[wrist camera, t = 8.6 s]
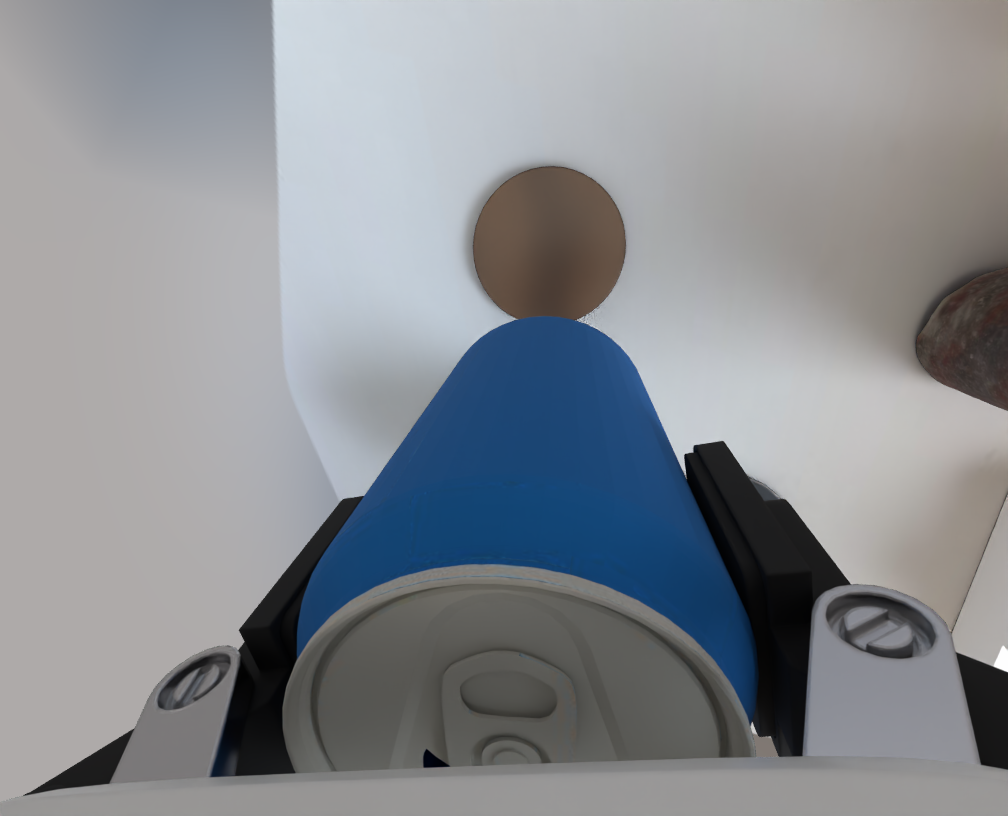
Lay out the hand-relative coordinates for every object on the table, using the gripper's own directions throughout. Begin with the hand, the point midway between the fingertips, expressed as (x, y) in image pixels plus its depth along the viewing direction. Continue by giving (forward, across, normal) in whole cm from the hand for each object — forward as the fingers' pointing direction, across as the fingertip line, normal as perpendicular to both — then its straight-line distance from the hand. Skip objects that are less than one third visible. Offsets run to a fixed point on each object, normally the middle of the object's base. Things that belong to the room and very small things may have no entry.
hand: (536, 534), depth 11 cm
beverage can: (+7, 0, 0) cm, 7 cm away
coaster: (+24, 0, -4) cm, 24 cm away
